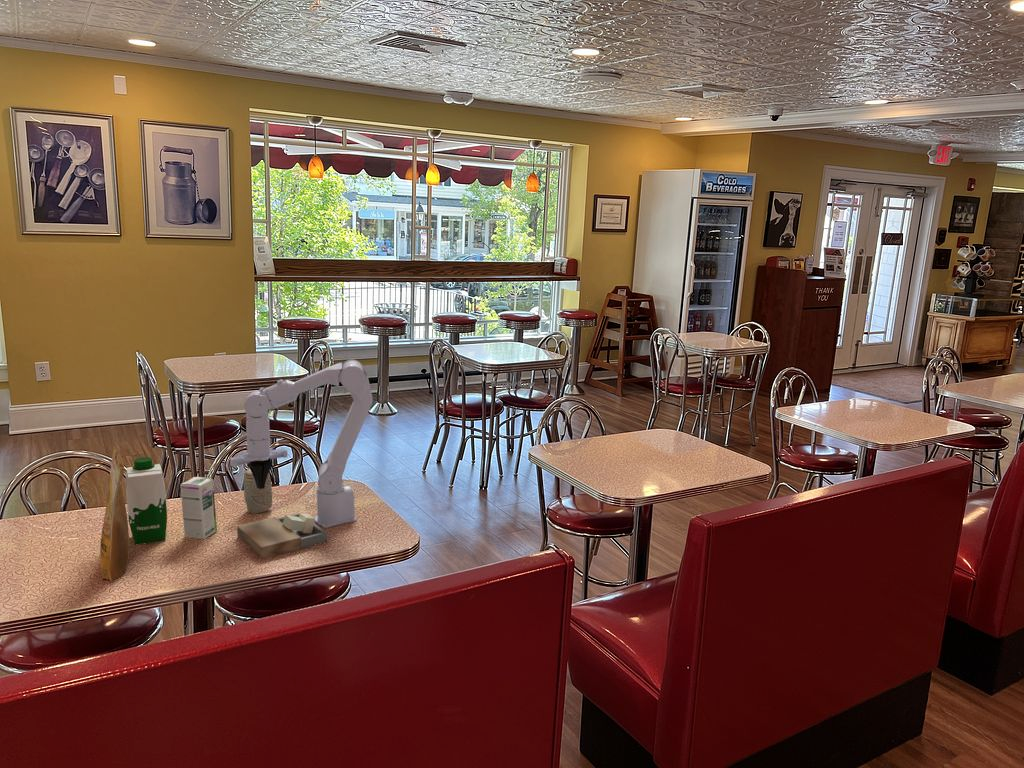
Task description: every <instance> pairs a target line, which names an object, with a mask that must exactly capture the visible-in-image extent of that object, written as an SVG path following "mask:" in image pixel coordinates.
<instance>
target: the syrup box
mask: <svg viewBox="0 0 1024 768" xmlns="http://www.w3.org/2000/svg"><path fill="white" fill-rule="evenodd" d="M214 489H215V486H214V479H213V478H211V477H204V476H202V477H201V476H193V477H191V478H190V479H188V480H187V481H184V482H182V483H180V496H181V508H182V509H181V510H182V519H183V530H184V531H183V532H184V533H183V535H184V538H190V539H196V540H197V539H198V540H205V539H207V538H209V537H210V536H212V535H213V534H214V533H215V532H217V531H218V527H217V516H216V515H217V514H216V502H215V490H214Z"/></svg>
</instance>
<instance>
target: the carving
mask: <svg viewBox="0 0 1024 768" xmlns="http://www.w3.org/2000/svg"><path fill="white" fill-rule="evenodd" d="M243 475H244V476H243V477H244V478H243V498H244V502H245V505H246V506H245V507H246V509H247V511H248V512H249V513H250V514H260V513H264V512H267V511H268V510H270V509H271V508H272V506H273V503H274V502H273V488H272V480H271V476H270V472H269V473H268V475H267V478H266V482H265V488H263V489H259V488H257V486H256V482H255V479H254V476H253V474H252V472H251V470H250V468H248V469H246V471H244V474H243Z"/></svg>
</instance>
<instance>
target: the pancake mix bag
mask: <svg viewBox="0 0 1024 768" xmlns="http://www.w3.org/2000/svg"><path fill="white" fill-rule="evenodd" d="M111 444H112V456H111V464H110V473H109V476H110V477H109V487H108V491H107V492H108V493H107V499H106V505H105V512H104V515H103V516H104V517H103V523H102V531H101V536H100V537H101V538H100V545H99V549H100V551H99V554H100V555H99V559H100V561H99V562H100V573H101V577H102V579H106V580H105V581H110V583H113V582H115V580H116V581H118V580H119V578H120V579H122V578H123V577H124V576H125V575H126V573H127V572H126V571H127V568H128V564H129V557H130V533H129V531H130V530H129V528H130V527H129V519H128V511H127V507H126V506H127V505H126V502H125V498H124V493H123V487H122V479H123V477H124V474H125V461H124V460H123V458H122V455H121V447H120V445H118V444H117V443H116V441H113V442H112V443H111ZM124 574H125V575H124ZM123 575H124V576H123ZM122 576H123V577H122ZM121 577H122V578H121ZM117 579H118V580H117Z"/></svg>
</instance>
